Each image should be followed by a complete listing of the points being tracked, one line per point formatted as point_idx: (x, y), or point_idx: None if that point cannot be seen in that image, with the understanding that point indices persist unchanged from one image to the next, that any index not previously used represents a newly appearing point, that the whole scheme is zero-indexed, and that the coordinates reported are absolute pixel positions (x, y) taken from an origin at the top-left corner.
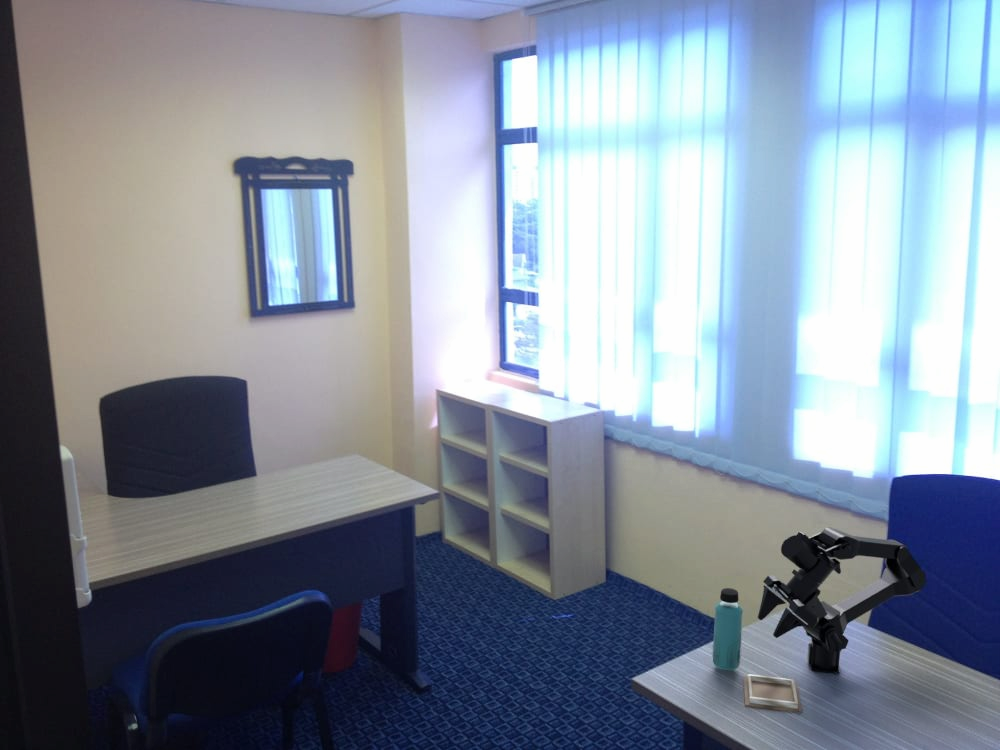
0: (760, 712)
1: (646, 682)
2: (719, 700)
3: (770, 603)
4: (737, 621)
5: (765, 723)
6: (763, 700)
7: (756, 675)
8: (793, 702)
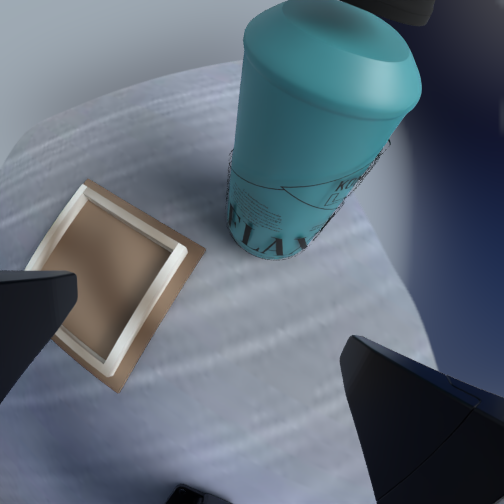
0: (55, 202)
1: None
2: (137, 139)
3: (407, 455)
4: (243, 85)
5: (27, 191)
6: (61, 215)
7: (167, 270)
8: None
